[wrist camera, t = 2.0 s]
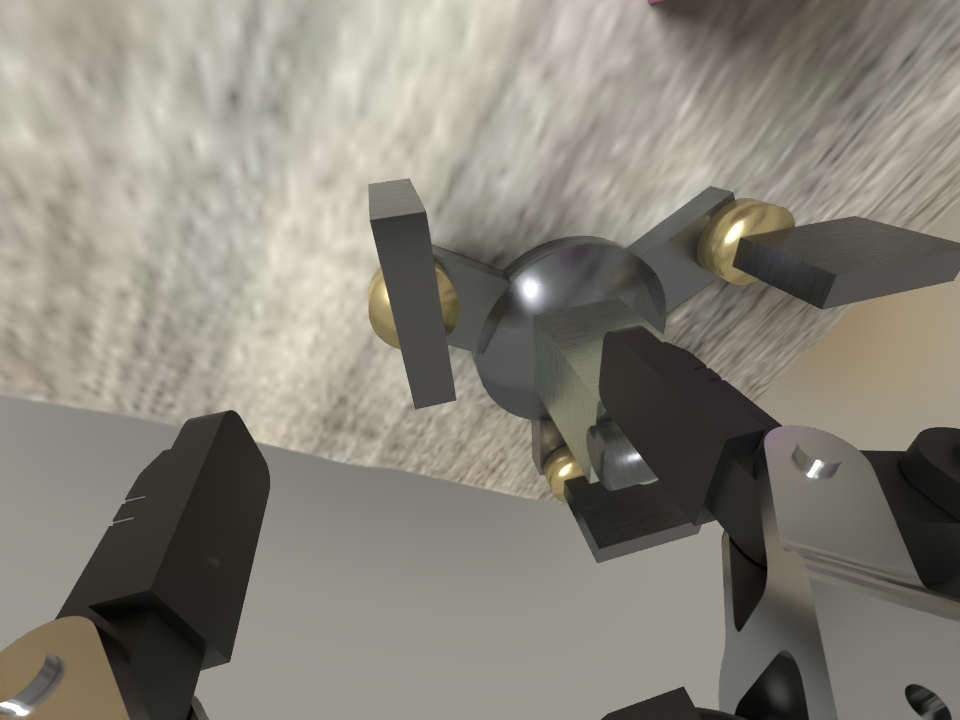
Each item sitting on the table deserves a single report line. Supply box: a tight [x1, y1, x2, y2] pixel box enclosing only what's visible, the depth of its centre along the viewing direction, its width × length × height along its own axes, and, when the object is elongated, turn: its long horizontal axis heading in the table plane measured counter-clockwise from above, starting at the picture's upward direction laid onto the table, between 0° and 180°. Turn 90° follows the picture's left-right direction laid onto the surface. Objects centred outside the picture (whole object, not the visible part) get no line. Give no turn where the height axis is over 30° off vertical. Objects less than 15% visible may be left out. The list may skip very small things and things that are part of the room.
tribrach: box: [431, 186, 735, 491], centre depth 26 cm, size 25×22×14 cm
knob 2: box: [697, 198, 960, 309], centre depth 23 cm, size 9×5×8 cm, turn 95°
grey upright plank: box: [368, 179, 460, 409], centre depth 19 cm, size 9×5×8 cm, turn 5°
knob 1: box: [544, 445, 702, 563], centre depth 32 cm, size 9×5×8 cm, turn 95°
